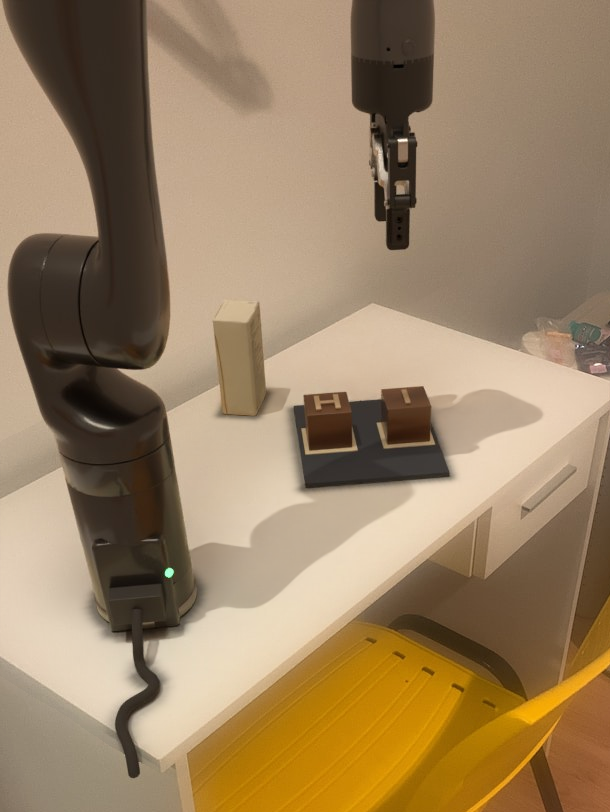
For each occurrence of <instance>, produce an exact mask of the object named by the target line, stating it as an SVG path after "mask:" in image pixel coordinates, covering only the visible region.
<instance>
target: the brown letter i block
mask: <svg viewBox="0 0 610 812" xmlns="http://www.w3.org/2000/svg"><path fill="white" fill-rule="evenodd" d="M425 389H426V388H425V386H424V385H418V386H407V387H393V388H381V390H380V399H381V425H382V428H383V431H384V435H385V438H386V441H387V444H388V445H389V444H402V443H414V442H427V441H430V427H431V423H432V404H431V403H430V400H429V397H428V394H427V392H426V390H425Z"/></svg>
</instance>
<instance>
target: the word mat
mask: <svg viewBox="0 0 610 812" xmlns="http://www.w3.org/2000/svg"><path fill="white" fill-rule="evenodd" d="M349 404H350V408H351V412H352V447H348V448H336V449H323V450H311V451H310V450H309V446H308V441H307V435H306V429H305V413H304V404H300V405H299V404H298V405H293V413H294V420H295V427H296V432H297V440H298V447H299V453H300V459H301V466H302V472H303V478H304V485H305V488H306V489H310V488H320V487H321V488H322V487H335V486H348V485H359V484H370V483H373V484H374V483H384V482H385V483H386V482H396V481H409V480H421V479H433V478H445V477H450V470H449V469H450V468H449V466H448V463H447V462H446V459H445V456H444V453H443V451H442V447H441V444H440V442H439V440H438V437H437V434H436V431H435V429H434V425H433V423H432V422H431V427H430V441H427V442H414V443H402V444H389V445H388V444H387V441H386V438H385V435H384V431H383V428H382V425H381V398H378V399H367V400H354V401H353V400H351V401H349Z"/></svg>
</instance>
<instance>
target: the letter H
mask: <svg viewBox="0 0 610 812" xmlns="http://www.w3.org/2000/svg"><path fill="white" fill-rule="evenodd" d="M349 402H350V401H349V395H348V392H347V391H337V392H336V391H335V392H323V393H308V394H303V405H304V413H305V429H306V435H307V441H308V446H309V450H310V451H311V450H323V449H336V448H348V447H352V412H351V408H350V404H349Z"/></svg>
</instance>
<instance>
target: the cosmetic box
mask: <svg viewBox="0 0 610 812" xmlns="http://www.w3.org/2000/svg"><path fill="white" fill-rule="evenodd" d="M212 327H213V337H214V345H215V346H214V347H215V354H216V364H217V365H216V366H217V374H218V384H219V392H220V402H221V409H222V410H221V411H222V414H225V415H236V416H237V415H239V416H252V417H255V416H256V415H257V414H258V412H259V410H260V408H261V405H262V404H263V401H264V399H265V397H266V394H267V385H266V369H265V359H264V357H265V356H264V346H263V331H262V319H261V305H260V300H251V299H250V300H249V299H233V298H225V299H224V300H223V301H222V303H221V304H220V306H219V307H218V309H217V311H216V312H215V315H214V316H213V318H212Z"/></svg>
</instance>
